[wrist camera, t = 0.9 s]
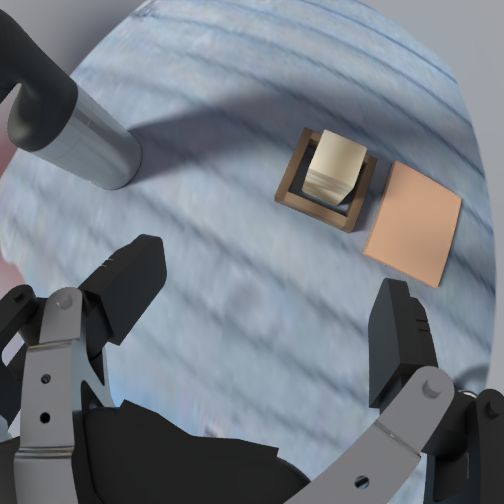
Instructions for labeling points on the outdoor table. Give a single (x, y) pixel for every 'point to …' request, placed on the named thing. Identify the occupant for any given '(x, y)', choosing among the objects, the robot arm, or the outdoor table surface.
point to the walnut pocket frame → (312, 208)
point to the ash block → (334, 168)
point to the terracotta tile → (413, 225)
